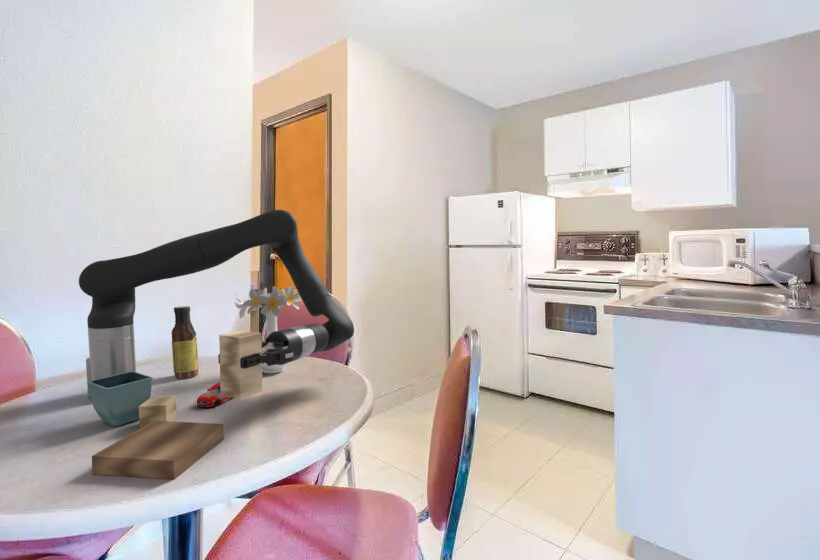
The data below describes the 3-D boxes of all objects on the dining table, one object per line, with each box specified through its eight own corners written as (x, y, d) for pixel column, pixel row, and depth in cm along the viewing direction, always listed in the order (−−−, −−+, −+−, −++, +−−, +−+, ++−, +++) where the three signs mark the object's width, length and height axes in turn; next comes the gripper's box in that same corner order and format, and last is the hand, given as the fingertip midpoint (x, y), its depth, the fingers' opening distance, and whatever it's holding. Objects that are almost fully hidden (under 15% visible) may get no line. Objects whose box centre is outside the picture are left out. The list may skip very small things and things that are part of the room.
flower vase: (236, 369, 127) (233, 286, 125) (299, 362, 134) (297, 284, 132) (237, 381, 115) (234, 290, 113) (306, 373, 122) (304, 287, 120)
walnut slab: (92, 474, 67) (91, 456, 67) (155, 435, 81) (154, 420, 81) (174, 479, 66) (173, 460, 66) (223, 439, 80) (223, 423, 79)
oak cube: (139, 431, 84) (138, 406, 83) (151, 421, 89) (150, 397, 88) (166, 429, 84) (165, 405, 84) (177, 419, 89) (176, 396, 89)
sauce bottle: (203, 375, 121) (200, 306, 120) (181, 380, 116) (178, 308, 114) (190, 371, 124) (187, 304, 123) (168, 377, 119) (165, 307, 118)
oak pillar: (220, 394, 84) (219, 335, 83) (242, 386, 89) (241, 330, 88) (240, 399, 81) (239, 337, 80) (262, 391, 86) (261, 332, 85)
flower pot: (108, 433, 82) (106, 388, 82) (88, 423, 87) (86, 381, 87) (155, 418, 90) (153, 376, 89) (134, 410, 95) (132, 370, 94)
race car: (210, 411, 94) (209, 394, 94) (191, 408, 96) (190, 391, 96) (250, 392, 107) (249, 376, 107) (232, 390, 109) (231, 374, 108)
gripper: (267, 325, 100) (204, 338, 85) (316, 331, 94) (257, 346, 79) (268, 356, 101) (205, 375, 86) (316, 364, 94) (257, 386, 79)
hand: (230, 361), depth 82 cm, fingers closed on oak pillar, 5 cm apart
